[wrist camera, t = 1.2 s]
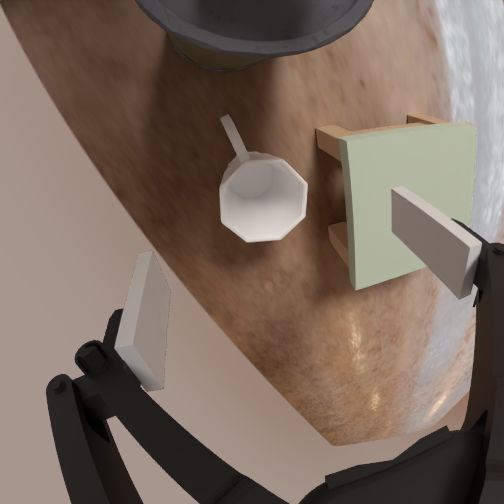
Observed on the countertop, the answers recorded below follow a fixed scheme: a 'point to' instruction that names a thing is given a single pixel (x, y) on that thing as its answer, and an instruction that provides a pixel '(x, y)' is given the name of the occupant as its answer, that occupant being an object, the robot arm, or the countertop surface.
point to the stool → (395, 175)
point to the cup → (260, 193)
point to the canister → (251, 28)
